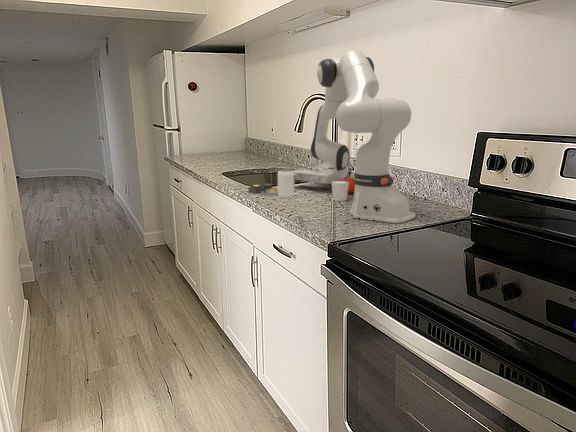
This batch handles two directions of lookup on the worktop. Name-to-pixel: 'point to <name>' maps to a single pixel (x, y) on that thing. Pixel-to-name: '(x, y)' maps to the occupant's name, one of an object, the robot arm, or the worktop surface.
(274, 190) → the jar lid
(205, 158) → the worktop surface
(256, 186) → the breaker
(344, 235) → the worktop surface
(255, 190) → the panel
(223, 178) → the worktop surface
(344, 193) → the white cup
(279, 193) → the can
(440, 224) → the worktop surface
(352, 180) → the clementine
